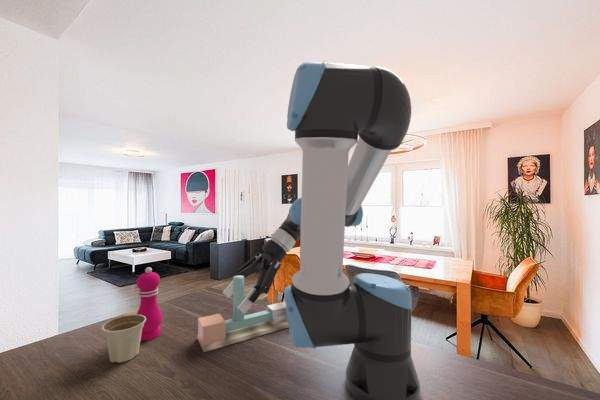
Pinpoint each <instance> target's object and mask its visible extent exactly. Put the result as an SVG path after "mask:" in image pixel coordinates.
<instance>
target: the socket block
mask: <svg viewBox="0 0 600 400" xmlns="http://www.w3.org/2000/svg"><path fill="white" fill-rule="evenodd" d="M225 320H226V319H224V317H223V316H222V315H221V313H215V314H211V315H207V316H203V317H198V318H197V334H198V337H199V339H200V341H201V343H202V345H203V346H204V345H208V344H211V343H215V342H219V341H222V340H225Z"/></svg>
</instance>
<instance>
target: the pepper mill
mask: <svg viewBox="0 0 600 400" xmlns="http://www.w3.org/2000/svg"><path fill="white" fill-rule="evenodd" d="M160 283H161V277H160V275H159V273H156V272H154V271H153V269H152V267H149V266H148V267H146V268H145V269H144V273H141V274H140V275H139V276H138V277H137V279H136V286H137V288H138V289H139V290H138V296H139V298H140V303H139V307H138V311H137V313H136V314H135V315H143V316H145V317H146V321H145V322H144V326H143V328H142V334H141V340H140V342H145V341H150V340H154V339H156V338H157V337H159V336H160V335H161V333H162V327H161V324H162V322H163V314H162V311H161V308H160V307H159V305H158V302H157V300H158V299H157V295H158V293H159V288H158V286H159V285H160Z"/></svg>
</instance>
